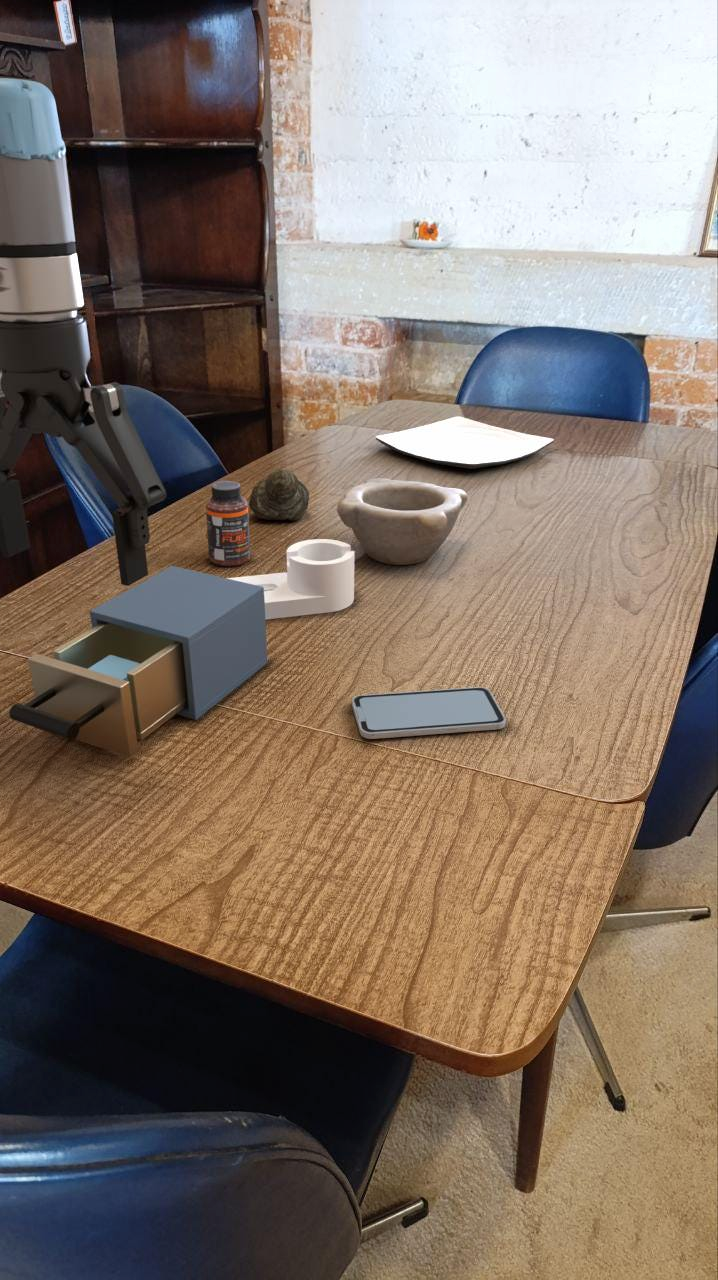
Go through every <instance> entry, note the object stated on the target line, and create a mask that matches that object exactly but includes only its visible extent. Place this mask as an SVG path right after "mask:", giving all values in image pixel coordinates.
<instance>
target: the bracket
mask: <svg viewBox="0 0 718 1280" xmlns="http://www.w3.org/2000/svg"><path fill="white" fill-rule="evenodd" d="M226 578H227V579H231V580H236V581H240V582H244V583H248V584H253V585H257V586H261V587H264V601H265V621H266V620H274V619H284V618H293V617H300V616H301V617H303V616H309V615H317V614H318V615H319V614H326V613H328V614H329V613H334V612H338V611H342V610H344V609H347V608H349V607H350V606H352V604H353V603H354V600H355V550H352V545H350V544H349V543H347V542H344V541H340V540H337V539H327V538H313V539H306V540H301V541H298V542H296V543H293V544H291V545H290V546H288V548H287V549H286V572H277V573H267V574H256V575H255V574H254V575H246V576H238V577H236V576H235V577H226Z"/></svg>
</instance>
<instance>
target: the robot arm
mask: <svg viewBox="0 0 718 1280" xmlns="http://www.w3.org/2000/svg"><path fill="white" fill-rule="evenodd" d="M57 108H58V107H57V103H56V99H55V96H54V94H53V92H52V91H51V90H50V89H49V88H48V87H47V86H45V85H44V84H43V83H41V82H38V81H34V80H29V79H22V78H21V79H20V78H7V77H0V550H1V556H2V557H4V558H8V559H9V558H12V557H13V556H15V555H17V554H20V553H22V552H24V551H27V550H29V549H31V543H30V537H29V532H28V527H27V521H26V516H25V510H24V505H23V499H22V493H21V487H20V482H19V480H18V479H13V478H11V477H14V476H16V473H15V472H14V471H13V470H14V469H15V467H16V465H17V463H18V461H19V460H20V458H21V456H22V455H23V452H24V450H25V449H26V446H27V445H28V443H29V441H30V439H31V437H32V435H33V434H35V435H38V434H39V435H40V434H43V433H44V434H47V435H48V436H50V437H54V438H63V440H64V441H65V443H67V444H68V445H69V446H72V447H74V448H75V449H76V450H77V452H78V453H79V454H80V456H81V457H82V458H83V460H84V461H85V463H86V464H87V466H88V467H89V468H90V469H91V471H92V472H93V473H94V475H95V476H96V478H97V479H98V481H99V482H100V483H101V484H102V486H103V487H104V489H105V490H106V491H107V493H108V494H109V495H110V496H111V498H112V499H113V501H114V502H115V504H116V505H117V506H118V508H117V509H115V510H113V511H111V516H112V523H113V531H114V539H115V547H116V552H117V553H116V554H117V562H118V563H117V564H118V570H119V578H120V585H122V586H127V587H129V586H132V585H133V584H135V583H137V582H138V581H140V580H142V579H144V578H145V577H147V576H148V575H149V568H148V561H147V551H146V545H147V544H149V542H150V539H151V534H150V526H149V525H150V524H149V517H148V508H150V507H152V506H154V505H156V504H158V503H160V502H162V501H164V500H165V499H166V498H167V491H166V488H165V486H164V484H163V482H162V481H161V478H160V476H159V474H158V472H157V470H156V468H155V466H154V464H153V462H152V460H151V458H150V456H149V454H148V451H147V449H146V447H145V445H144V443H143V441H142V439H141V436H140V435H139V432H138V431H137V429H136V427H135V425H134V423H133V421H132V419H131V416H130V415H129V412H128V410H127V404H126V400H125V399H126V398H125V394H124V390H123V387H122V385H121V384H120V383H119V382H117V381H113V382H111V383H107V384H102V385H91V383H90V381H89V378H88V375H87V368H88V364H89V363H90V361H91V351H90V350H91V349H90V342H89V335H88V328H87V320H86V319H85V318H84V317H83V315H82V314H79V313H78V310H80V309H82V308H83V307H84V305H85V302H84V294H83V288H82V287H83V286H82V280H81V273H80V267H79V260H78V253H77V248H76V243H75V242H76V235H75V228H74V227H75V226H74V219H73V210H72V203H71V193H70V192H71V191H70V184H69V176H68V167H67V158H66V152H67V148H66V147H67V146H66V145H65V141H64V140H63V138H62V132H61V126H60V120H59V116H58V110H57ZM7 402H8V403H9V406H8V408H7V410H6V406H7ZM5 411H6V412H5ZM82 424H83V426H82ZM8 478H11V479H9V480H7V479H8ZM128 493H129V494H128Z"/></svg>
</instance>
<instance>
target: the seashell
mask: <svg viewBox="0 0 718 1280" xmlns="http://www.w3.org/2000/svg"><path fill="white" fill-rule="evenodd" d="M309 500H310V491H309V489H308V488H307V486H306V484H305V483H303V482H302V480H299V479H298V477H297V476H296V474H295V473H293V472H292V471H291V470H287V469H278V470H276V471H273V472H271V473H270V474H269V475H267V477H266V479H265V478H264V479H263V480H260V481H258V482H257V484H256V485H255V486H253V487H252V490H251V494H250V498H249V502H248V507H249V509H250V510H251V511H252V512H253V514H255V515H256V517H258V518H259V519H260V520H266V521H267V520H270V521H271V520H277V521H284V520H289V521H291V522H294V521H298V520H301V519H302V518H303V517H304V516H305V513H306V511H307V510H308V507H309V503H310V501H309Z"/></svg>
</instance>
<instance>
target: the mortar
mask: <svg viewBox="0 0 718 1280" xmlns="http://www.w3.org/2000/svg"><path fill="white" fill-rule="evenodd" d="M468 498H469V497H468V494H467V493H466V492H465V490H463V489H460V488H455V487H447V486H446V487H445V486H440V485H437V484H432V483H427V482H421V481H414V480H413V481H411V480H396V479H395V480H393V479H389V478H383V477H375V478H370V479H367V480H365V481H364V483H361V484H358V485H355V486H353V487H351V488H350V489H349V490H348V491H346V493H344V495H343V498H342V499H341V500H340V501H339V502H338V503H337V506H336V512H337V514H338V517H339V518H340V520H341V522H342V523H343V524H344V526H346V527H347V528H349V529H351V530H352V533H353V534H354V536H355V538H356V539H357V541H358V543H359V545H360V547H361V548H362V550H363V551H364V552H365V554H366V555H367V556H368V557H369V558H371V559H373V560H374V561H377V562H379V563H383V564H387V565H391V566H408V565H414V564H419V563H422V562H424V561H426V560H428V559H430V558H431V557H432V556H434V555H435V553H436V552H437V551H438V550H439V549H440V548H441V547H442V545H443V544H444V543H445V541H446V540H447V538H448V537H449V535H450V534H451V533H452V531H453V530H454V527H455V525H456V523H457V520H458V518H459V515H460V512H461V510H462V509H463V508H464V506H465V505H466V503H467V502H468Z"/></svg>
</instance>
